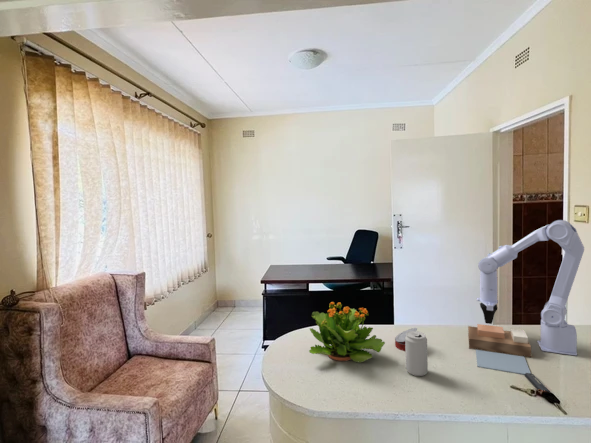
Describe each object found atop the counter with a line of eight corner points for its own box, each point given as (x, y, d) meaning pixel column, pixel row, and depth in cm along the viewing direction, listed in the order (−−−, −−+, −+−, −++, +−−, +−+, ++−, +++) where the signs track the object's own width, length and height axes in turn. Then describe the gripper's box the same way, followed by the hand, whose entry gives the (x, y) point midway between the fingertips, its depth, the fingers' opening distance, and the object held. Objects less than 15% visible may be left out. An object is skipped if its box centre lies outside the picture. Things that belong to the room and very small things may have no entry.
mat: (524, 357, 108) (524, 356, 108) (531, 375, 97) (531, 374, 97) (475, 350, 114) (475, 349, 114) (477, 366, 104) (477, 366, 104)
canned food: (411, 363, 116) (405, 346, 112) (392, 351, 123) (386, 334, 120) (429, 344, 119) (423, 327, 116) (409, 334, 127) (403, 317, 123)
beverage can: (417, 379, 98) (416, 340, 97) (401, 370, 104) (400, 333, 103) (432, 373, 101) (431, 335, 100) (415, 364, 107) (415, 328, 106)
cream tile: (524, 335, 117) (524, 329, 117) (527, 343, 110) (527, 337, 110) (510, 333, 118) (510, 328, 118) (513, 341, 112) (513, 336, 112)
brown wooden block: (524, 342, 119) (524, 332, 119) (531, 357, 108) (531, 347, 108) (468, 335, 127) (468, 326, 127) (469, 348, 116) (469, 338, 116)
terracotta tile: (502, 332, 120) (502, 326, 120) (504, 338, 115) (504, 333, 114) (477, 329, 124) (477, 324, 123) (478, 335, 118) (478, 330, 118)
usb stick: (552, 396, 88) (552, 391, 88) (541, 396, 89) (541, 390, 88) (533, 377, 97) (533, 372, 97) (523, 376, 98) (523, 371, 98)
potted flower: (324, 380, 100) (322, 324, 99) (292, 349, 121) (290, 302, 120) (389, 360, 110) (388, 309, 109) (350, 335, 132) (348, 292, 130)
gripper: (475, 282, 134) (475, 315, 135) (477, 292, 121) (477, 328, 122) (495, 284, 131) (495, 317, 132) (499, 294, 118) (499, 331, 119)
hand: (488, 323), depth 127 cm, fingers closed
